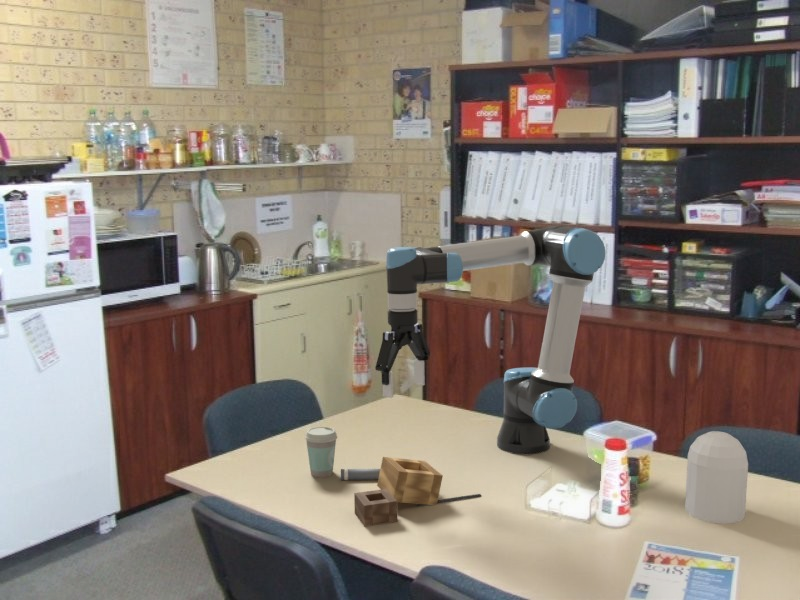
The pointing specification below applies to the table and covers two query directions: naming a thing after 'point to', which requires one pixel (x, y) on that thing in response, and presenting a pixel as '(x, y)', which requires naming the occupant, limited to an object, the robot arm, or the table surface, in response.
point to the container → (716, 478)
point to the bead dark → (375, 507)
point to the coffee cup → (321, 450)
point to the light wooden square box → (410, 480)
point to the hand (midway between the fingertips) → (404, 390)
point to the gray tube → (360, 474)
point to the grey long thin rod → (455, 498)
